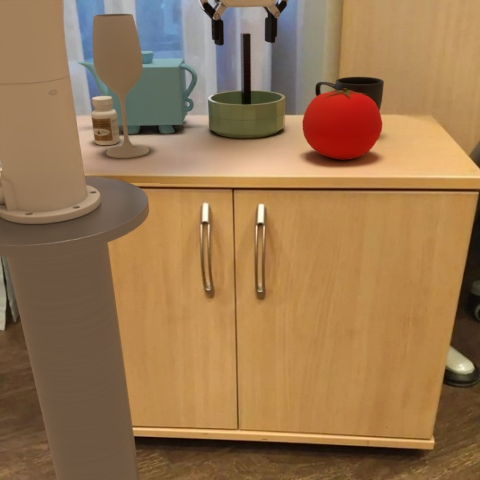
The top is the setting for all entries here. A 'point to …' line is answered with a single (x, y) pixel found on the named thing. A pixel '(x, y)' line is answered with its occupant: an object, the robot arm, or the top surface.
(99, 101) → the pill bottle
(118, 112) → the teapot
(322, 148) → the tomato
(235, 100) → the bowl
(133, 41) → the wineglass
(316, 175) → the top surface
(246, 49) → the square post on disc
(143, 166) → the top surface
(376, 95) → the mug
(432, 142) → the top surface
